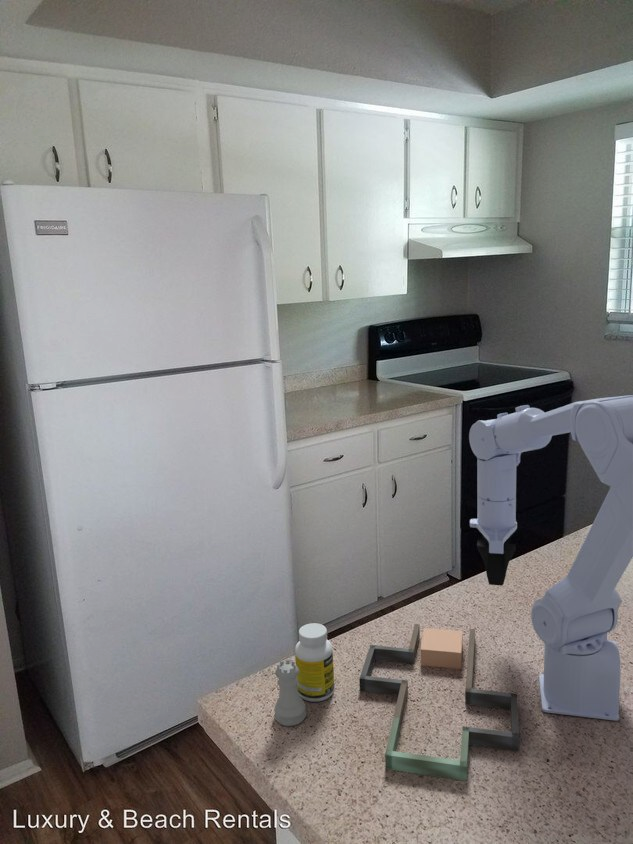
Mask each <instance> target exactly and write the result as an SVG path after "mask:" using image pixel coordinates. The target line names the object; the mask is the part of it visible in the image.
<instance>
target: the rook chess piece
mask: <svg viewBox="0 0 633 844" xmlns="http://www.w3.org/2000/svg"><path fill="white" fill-rule="evenodd" d="M285 661H286V662H284V660H281V661H279V663H278V664H277V666H276V669H275V672H274V674H275V676H276V677H277V678H278V679H277V682H276V683H277V685H278V686H279V689H278V690H279V693H278V698H277V700H276V702H275V704H274V713H273V716H274V719H275V721H276V722H278V723H279V724H280V725H282V726H284V727H294V726H298V725H299V724H301V723H302V722H303V721H304V719H305V718H306V716H307V713H308V712H307V710H306V709H307V708H306V707H307V706H306V703H305V702H304V701H305V700H304V699H303V698H301V696H299V692H298V688H297V683H298V678H297V677H296V676H297V675H298V673H299V668H298V667H297V666H296V661H294V660H291V659H286V660H285Z"/></svg>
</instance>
